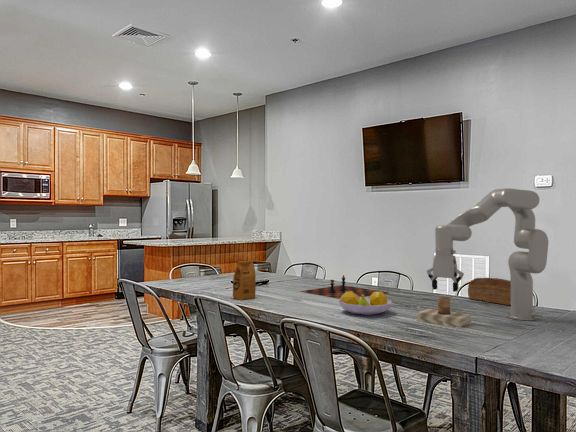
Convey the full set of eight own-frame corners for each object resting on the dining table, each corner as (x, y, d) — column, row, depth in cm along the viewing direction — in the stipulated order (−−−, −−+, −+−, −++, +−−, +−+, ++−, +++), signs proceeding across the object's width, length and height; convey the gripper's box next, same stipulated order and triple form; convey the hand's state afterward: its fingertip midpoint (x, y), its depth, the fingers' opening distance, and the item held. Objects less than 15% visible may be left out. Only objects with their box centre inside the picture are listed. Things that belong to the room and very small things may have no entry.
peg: (452, 322, 213) (452, 298, 213) (446, 324, 209) (447, 299, 209) (441, 320, 217) (441, 296, 217) (435, 322, 213) (435, 298, 213)
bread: (515, 307, 250) (515, 282, 250) (464, 299, 275) (464, 276, 275) (527, 305, 257) (527, 280, 257) (477, 297, 282) (477, 275, 282)
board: (471, 323, 210) (471, 314, 210) (459, 328, 202) (459, 318, 202) (429, 317, 224) (429, 308, 224) (417, 320, 216) (417, 312, 216)
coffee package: (230, 298, 274) (230, 260, 274) (248, 296, 282) (248, 259, 282) (239, 300, 267) (240, 261, 267) (257, 298, 274) (257, 260, 275)
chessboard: (341, 286, 327) (341, 270, 327) (388, 293, 296) (388, 276, 296) (299, 292, 301) (299, 275, 301) (345, 301, 270) (345, 282, 270)
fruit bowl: (350, 305, 253) (350, 284, 253) (399, 311, 239) (399, 288, 239) (327, 314, 229) (327, 291, 229) (380, 321, 215) (380, 296, 215)
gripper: (466, 252, 210) (467, 291, 210) (430, 251, 222) (431, 287, 222) (459, 254, 205) (459, 293, 205) (422, 252, 217) (423, 289, 217)
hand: (445, 290), depth 213 cm, fingers open, 9 cm apart
